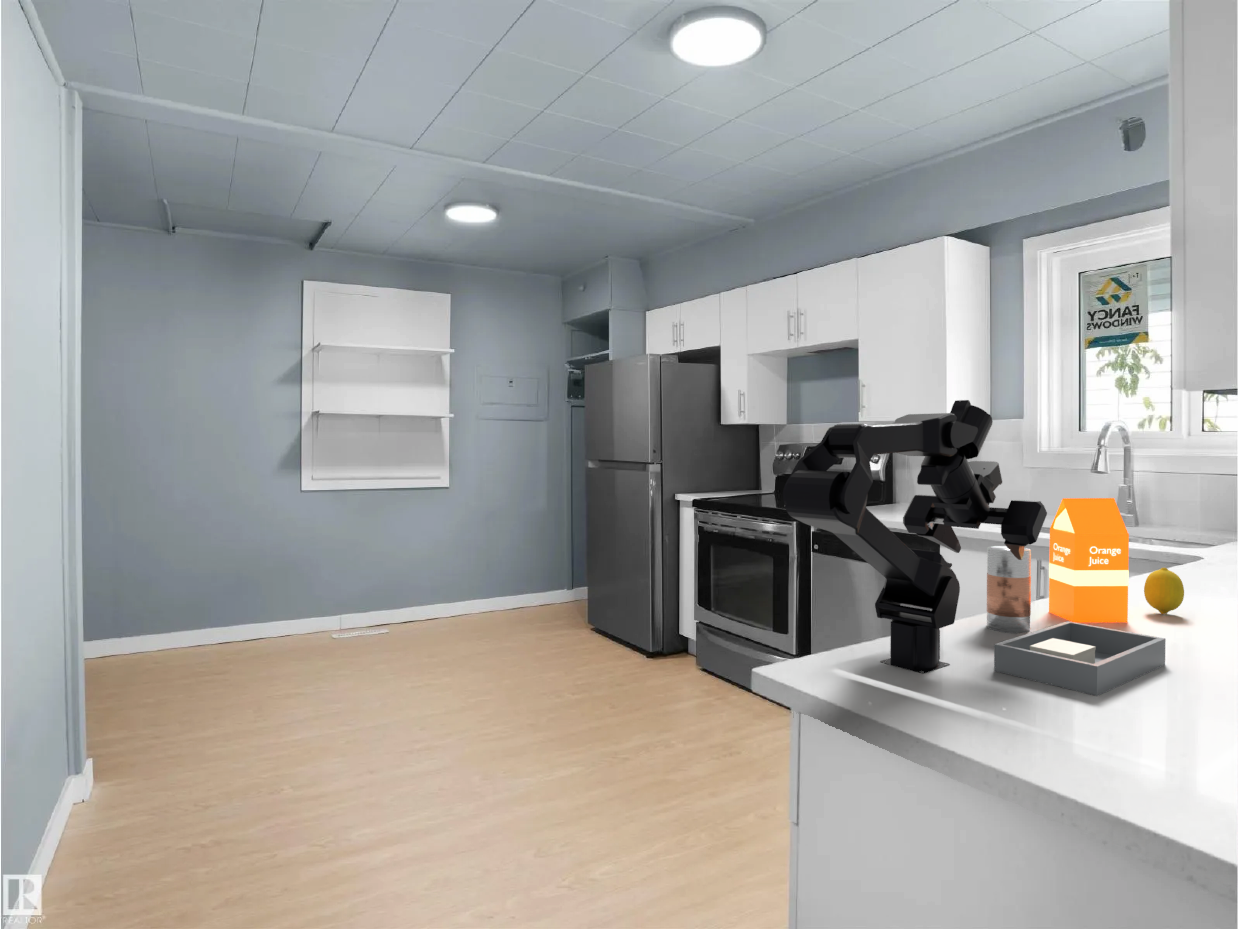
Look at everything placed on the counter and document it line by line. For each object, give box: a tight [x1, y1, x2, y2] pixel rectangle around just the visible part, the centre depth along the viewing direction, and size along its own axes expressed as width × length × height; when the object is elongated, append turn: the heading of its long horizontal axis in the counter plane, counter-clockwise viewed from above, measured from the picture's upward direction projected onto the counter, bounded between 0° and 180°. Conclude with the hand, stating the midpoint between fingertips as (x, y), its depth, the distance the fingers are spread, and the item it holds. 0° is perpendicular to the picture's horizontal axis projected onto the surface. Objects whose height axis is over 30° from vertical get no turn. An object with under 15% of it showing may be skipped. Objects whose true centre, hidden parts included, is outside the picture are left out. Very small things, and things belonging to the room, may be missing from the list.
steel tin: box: [986, 545, 1032, 634], centre depth 119 cm, size 6×6×13 cm
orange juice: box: [1048, 497, 1130, 623], centre depth 128 cm, size 8×9×20 cm
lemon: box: [1143, 567, 1185, 615], centre depth 130 cm, size 6×6×8 cm
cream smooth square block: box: [1030, 638, 1096, 664], centre depth 96 cm, size 6×5×4 cm
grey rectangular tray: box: [993, 620, 1167, 697], centre depth 98 cm, size 20×12×4 cm, turn 126°
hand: (989, 553), depth 114 cm, fingers open, 9 cm apart
